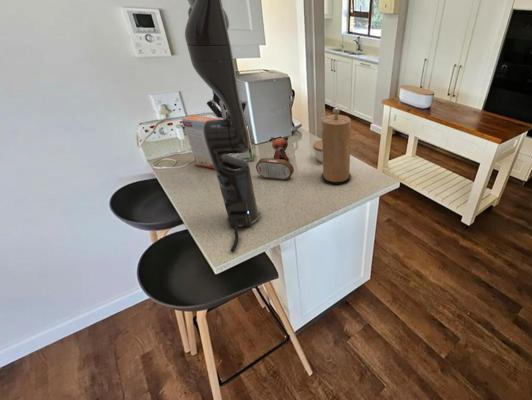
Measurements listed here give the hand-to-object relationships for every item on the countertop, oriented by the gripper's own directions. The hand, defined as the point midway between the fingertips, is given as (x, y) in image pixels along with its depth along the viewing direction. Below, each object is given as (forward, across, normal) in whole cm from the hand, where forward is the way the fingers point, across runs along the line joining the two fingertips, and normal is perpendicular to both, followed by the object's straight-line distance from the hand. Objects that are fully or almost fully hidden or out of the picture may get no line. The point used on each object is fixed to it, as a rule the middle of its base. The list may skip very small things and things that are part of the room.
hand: (232, 128), depth 103 cm
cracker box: (+21, -15, +11) cm, 28 cm away
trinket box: (+21, +33, +17) cm, 43 cm away
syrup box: (+21, -3, +18) cm, 28 cm away
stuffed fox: (+21, +13, +17) cm, 30 cm away
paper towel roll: (+21, +38, 0) cm, 43 cm away
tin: (+21, +13, 0) cm, 25 cm away
